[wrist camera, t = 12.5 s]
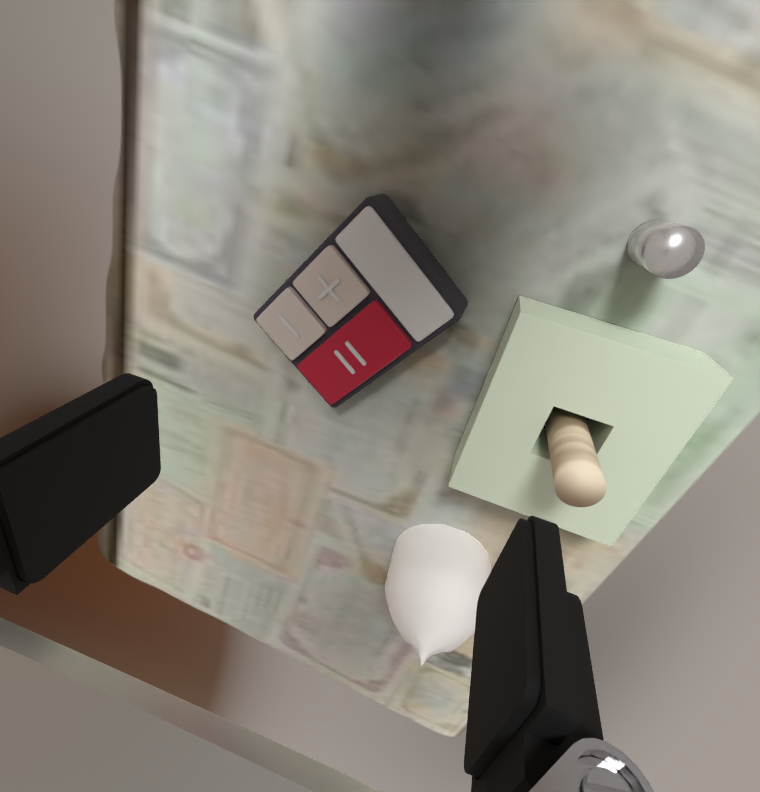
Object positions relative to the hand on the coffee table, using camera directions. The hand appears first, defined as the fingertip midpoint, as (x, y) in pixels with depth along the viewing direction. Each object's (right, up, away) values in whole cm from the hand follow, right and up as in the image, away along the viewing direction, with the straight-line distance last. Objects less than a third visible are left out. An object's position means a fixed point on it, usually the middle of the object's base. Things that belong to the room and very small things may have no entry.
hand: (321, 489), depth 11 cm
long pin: (+17, +1, +26) cm, 31 cm away
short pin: (+20, +13, +20) cm, 31 cm away
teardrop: (+8, -16, +38) cm, 42 cm away
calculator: (0, +10, +28) cm, 30 cm away
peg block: (+17, +1, +26) cm, 31 cm away
